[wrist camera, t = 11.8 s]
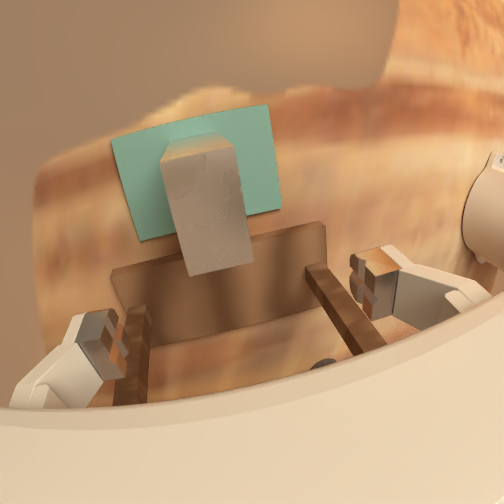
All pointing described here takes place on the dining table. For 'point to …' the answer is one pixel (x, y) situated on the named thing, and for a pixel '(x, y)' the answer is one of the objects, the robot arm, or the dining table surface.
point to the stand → (232, 299)
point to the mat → (225, 123)
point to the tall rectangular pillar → (206, 202)
